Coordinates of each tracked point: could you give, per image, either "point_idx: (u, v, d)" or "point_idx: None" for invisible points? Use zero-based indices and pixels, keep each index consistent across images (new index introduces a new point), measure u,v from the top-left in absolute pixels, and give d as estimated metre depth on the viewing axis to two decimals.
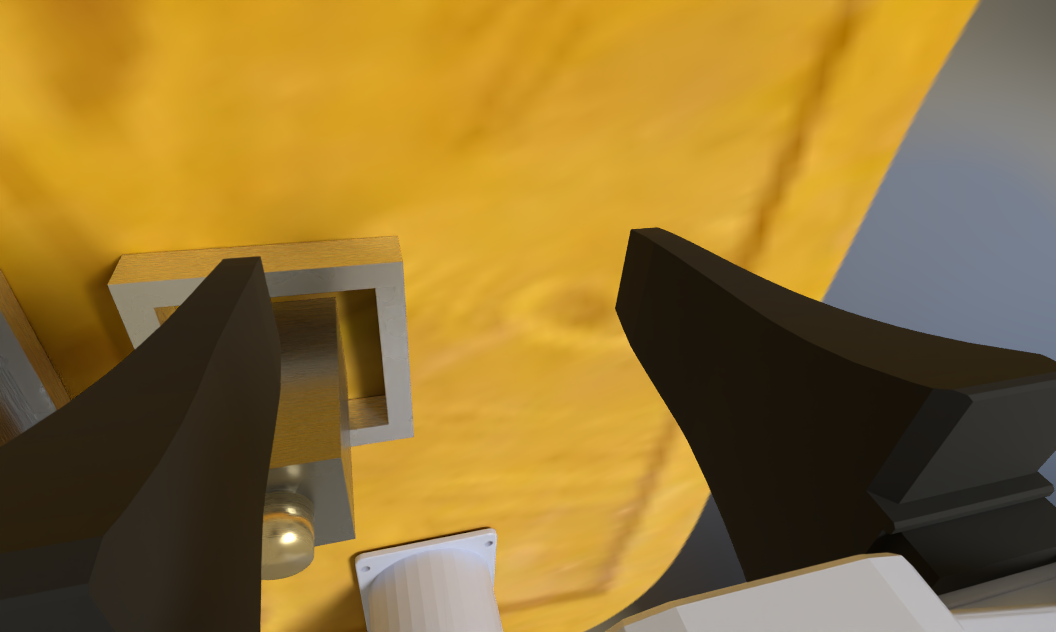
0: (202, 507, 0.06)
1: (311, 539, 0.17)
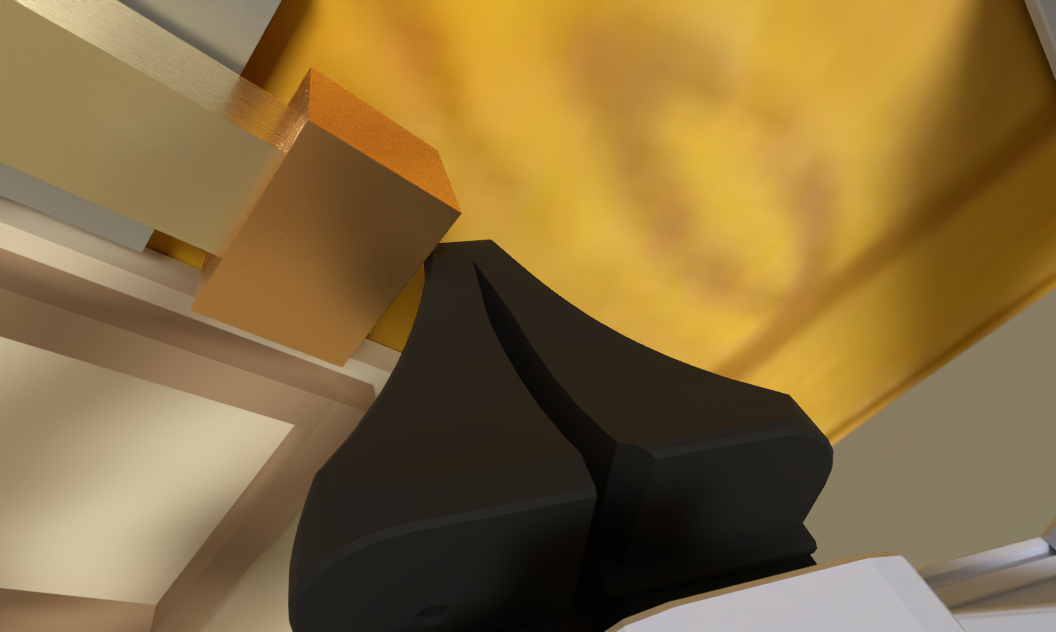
0: None
1: None
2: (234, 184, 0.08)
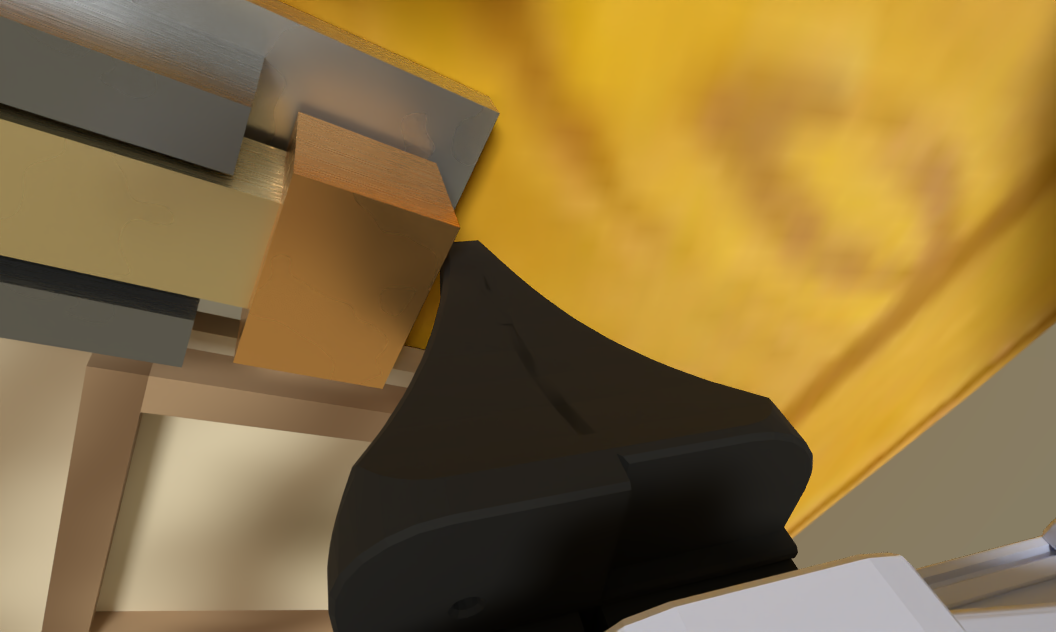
0: None
1: None
2: (245, 242, 0.09)
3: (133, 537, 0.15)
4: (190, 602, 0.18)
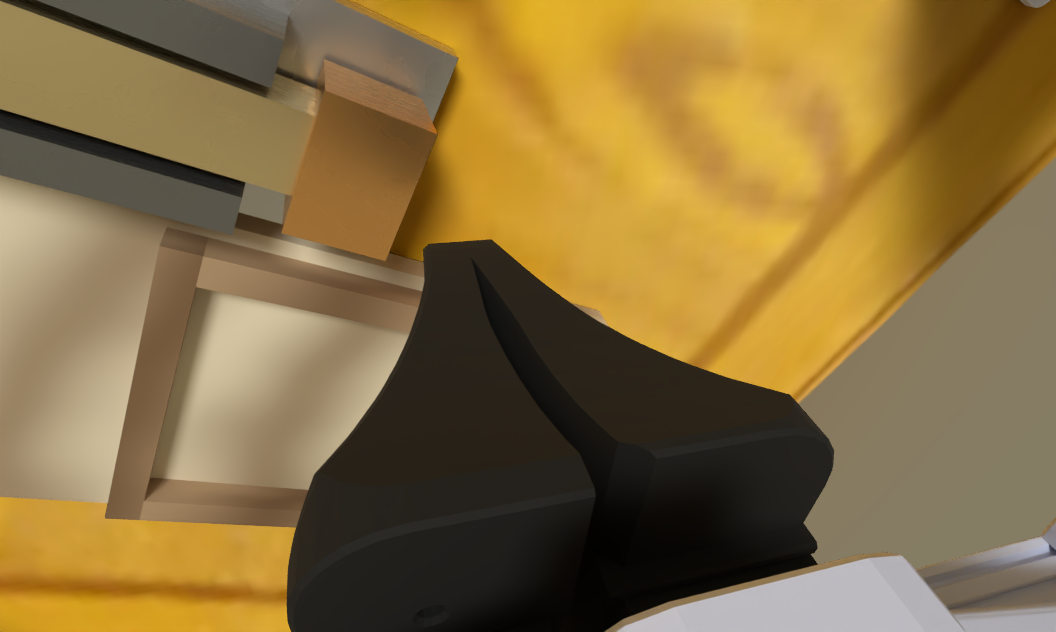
0: None
1: None
2: (290, 144, 0.13)
3: (182, 409, 0.19)
4: (224, 475, 0.22)
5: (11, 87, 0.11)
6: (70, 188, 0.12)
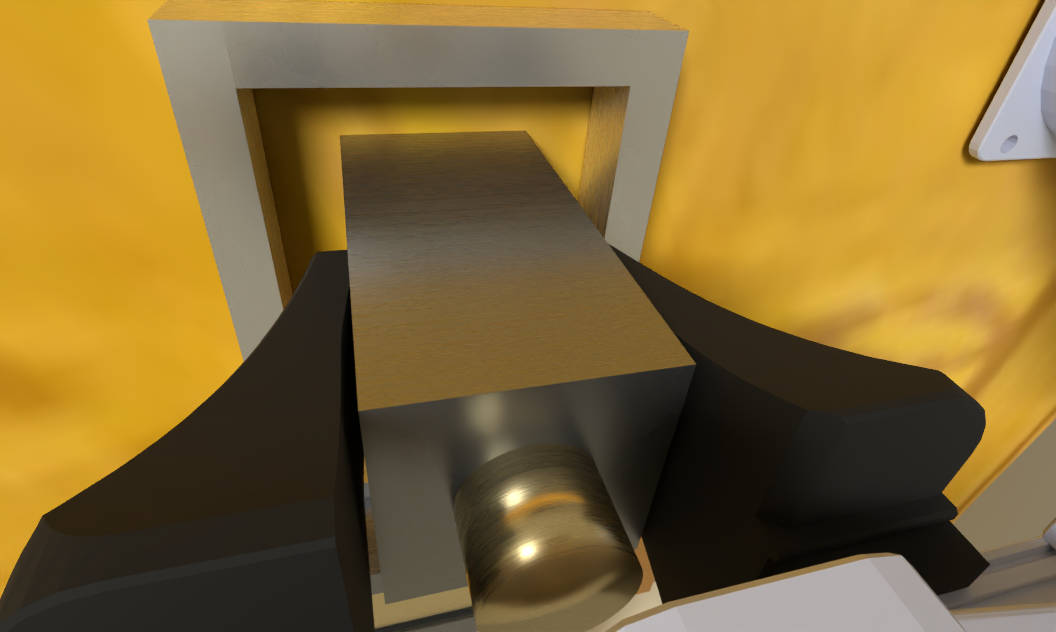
0: (350, 482, 0.07)
1: (543, 539, 0.06)
2: None
3: None
4: None
5: (421, 609, 0.18)
6: None
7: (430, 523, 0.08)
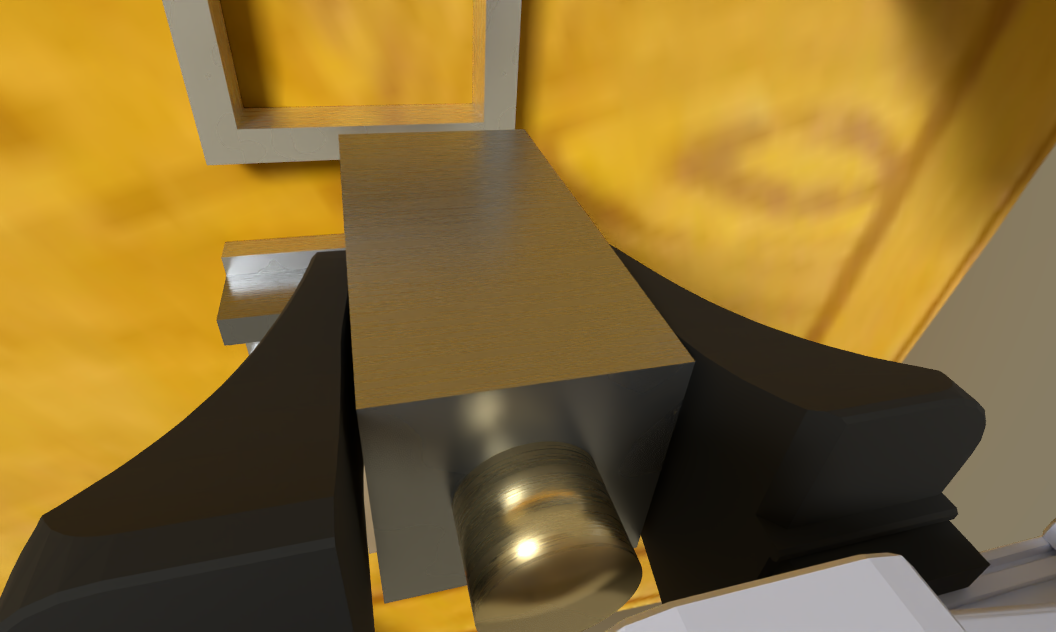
0: (350, 482, 0.07)
1: (542, 537, 0.06)
2: None
3: None
4: None
5: None
6: None
7: (428, 523, 0.08)
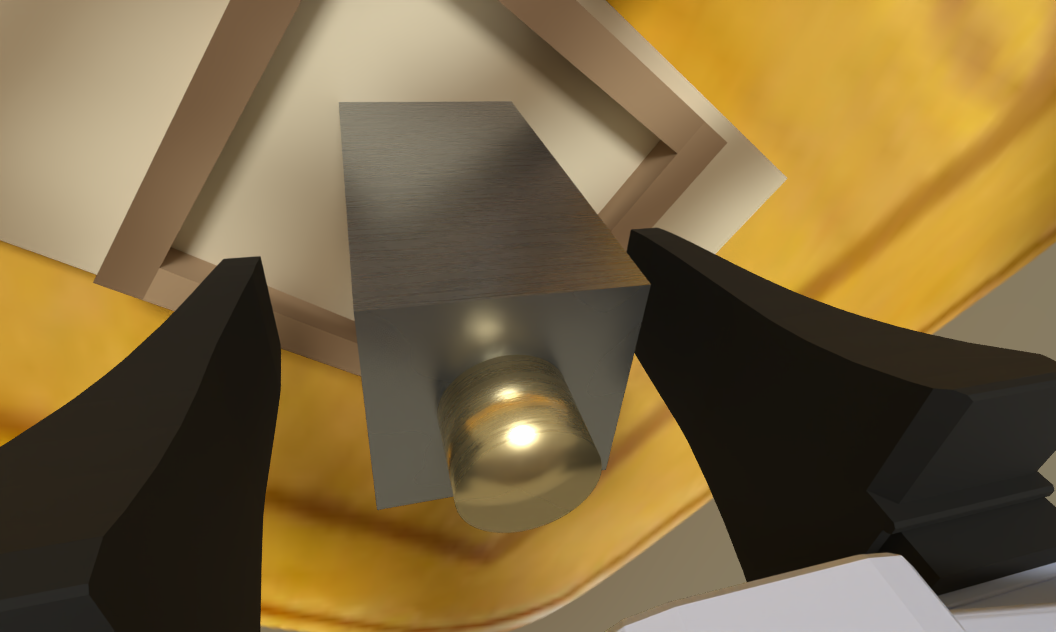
0: (202, 507, 0.06)
1: (513, 424, 0.07)
2: None
3: (250, 137, 0.13)
4: (271, 270, 0.15)
5: None
6: None
7: (416, 429, 0.09)
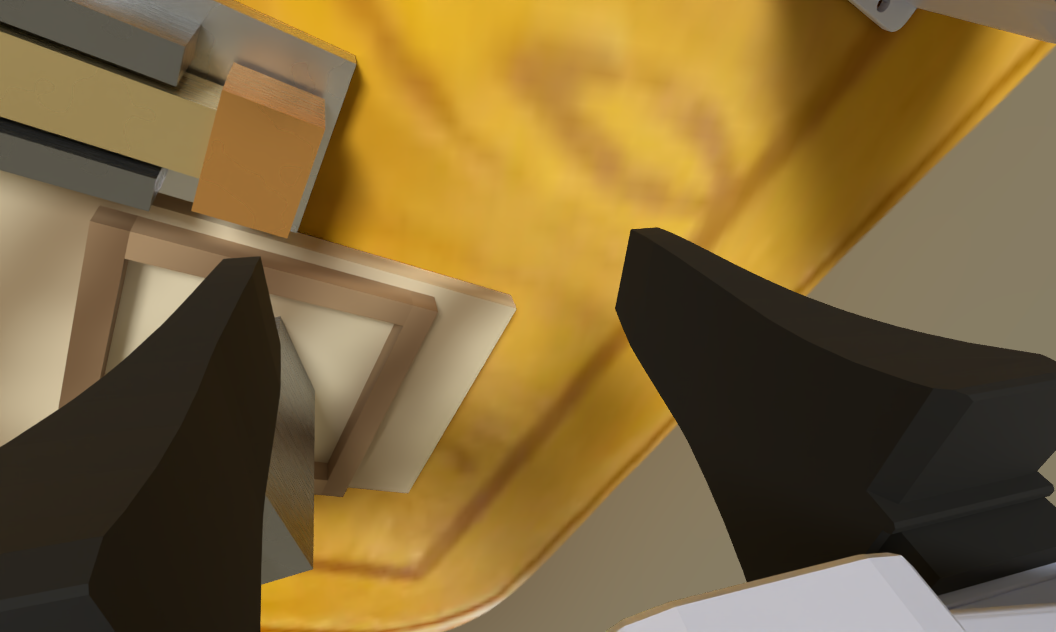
0: (202, 507, 0.06)
1: None
2: (197, 134, 0.15)
3: None
4: None
5: None
6: (3, 167, 0.15)
7: None
